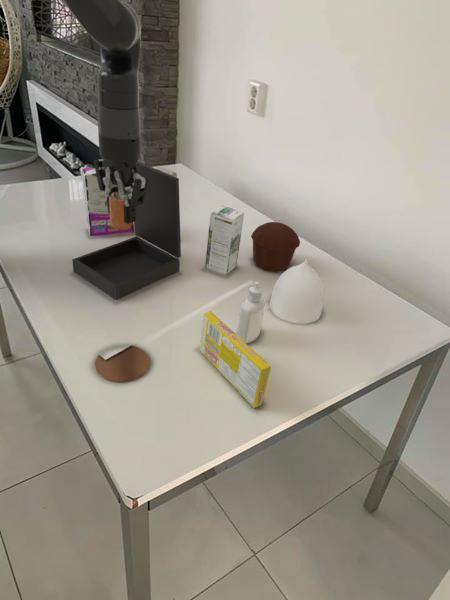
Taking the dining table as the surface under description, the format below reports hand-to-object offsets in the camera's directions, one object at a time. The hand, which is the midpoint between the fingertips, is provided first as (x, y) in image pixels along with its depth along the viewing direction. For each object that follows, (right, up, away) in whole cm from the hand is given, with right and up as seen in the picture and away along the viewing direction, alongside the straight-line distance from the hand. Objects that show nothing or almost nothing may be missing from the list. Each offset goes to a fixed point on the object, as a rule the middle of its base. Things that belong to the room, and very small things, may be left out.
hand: (121, 217), depth 92 cm
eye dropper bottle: (+25, -24, -5) cm, 35 cm away
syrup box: (+20, -10, +15) cm, 27 cm away
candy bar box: (-9, +1, +24) cm, 26 cm away
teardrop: (+36, -19, +4) cm, 41 cm away
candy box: (+22, -30, -15) cm, 40 cm away
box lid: (+6, +3, +6) cm, 9 cm away
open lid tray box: (-1, -11, +8) cm, 14 cm away
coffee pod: (0, -1, +1) cm, 2 cm away
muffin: (+32, -8, +19) cm, 39 cm away
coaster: (+4, -28, -15) cm, 32 cm away
